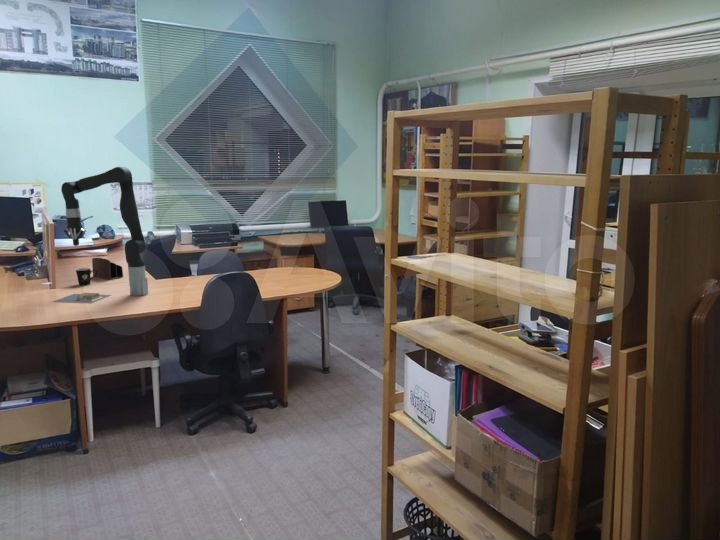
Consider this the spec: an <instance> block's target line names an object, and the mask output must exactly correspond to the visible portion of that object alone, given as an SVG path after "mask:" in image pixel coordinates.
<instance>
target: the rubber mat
mask: <svg viewBox="0 0 720 540" xmlns="http://www.w3.org/2000/svg"><path fill="white" fill-rule="evenodd" d="M80 294H81V293H73V294H70V295H67V296H64V297H62V298H58V299H55V300H53V301H51V303H63V304H64V303H65V304H67V303H69V304H95V302H98V301H101V300H104V299H106V298H109V297H110V296H112V295H111V294H99V298H97V299H94V300H77V295H80Z"/></svg>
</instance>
